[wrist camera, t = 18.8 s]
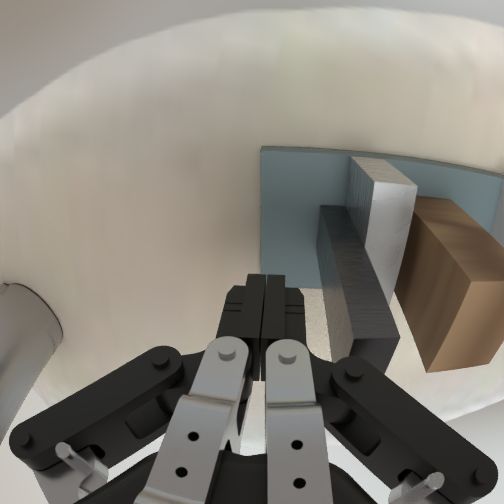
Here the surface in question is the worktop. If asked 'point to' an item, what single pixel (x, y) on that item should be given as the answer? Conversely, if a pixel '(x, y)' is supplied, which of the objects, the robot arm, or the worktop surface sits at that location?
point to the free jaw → (364, 260)
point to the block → (451, 287)
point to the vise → (335, 194)
